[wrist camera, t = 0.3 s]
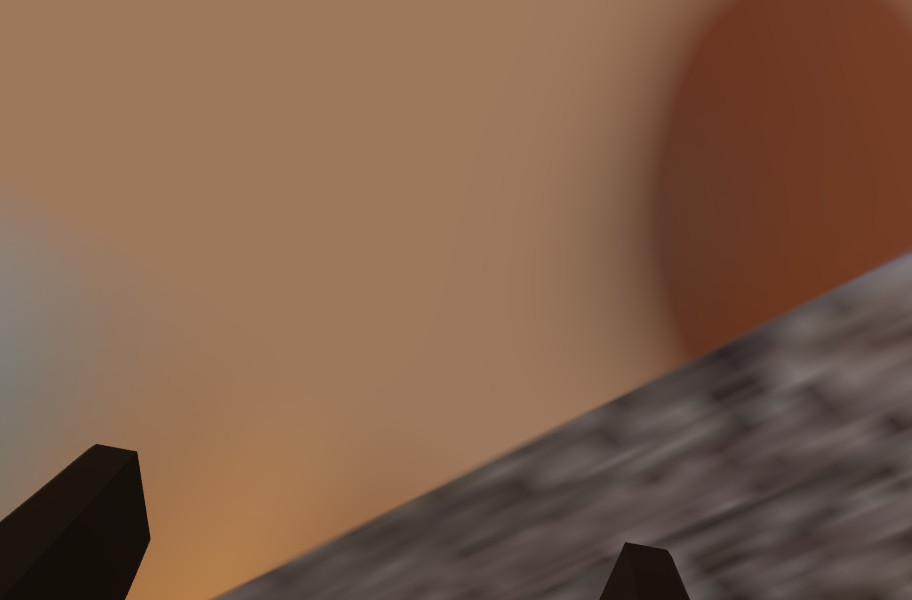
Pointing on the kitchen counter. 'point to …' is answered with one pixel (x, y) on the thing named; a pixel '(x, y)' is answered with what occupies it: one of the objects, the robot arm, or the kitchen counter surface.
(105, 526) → the robot arm
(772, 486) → the kitchen counter surface
